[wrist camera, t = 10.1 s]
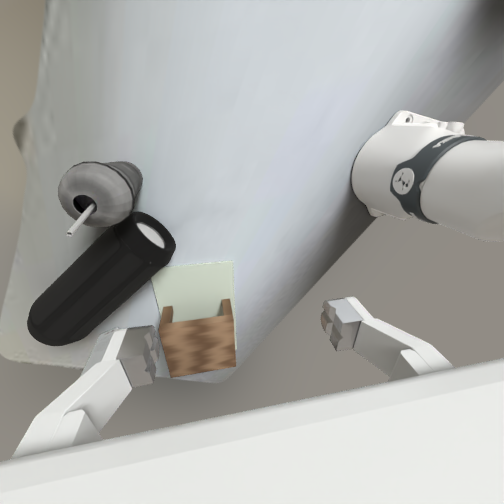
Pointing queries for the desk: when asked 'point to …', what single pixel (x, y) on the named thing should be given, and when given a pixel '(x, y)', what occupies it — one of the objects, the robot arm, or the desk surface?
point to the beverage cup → (99, 193)
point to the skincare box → (99, 349)
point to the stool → (198, 342)
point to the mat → (195, 290)
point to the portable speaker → (101, 280)
